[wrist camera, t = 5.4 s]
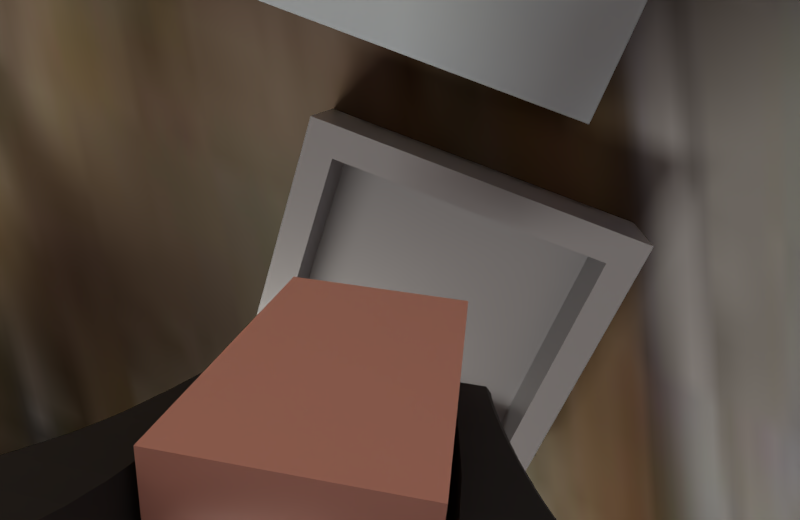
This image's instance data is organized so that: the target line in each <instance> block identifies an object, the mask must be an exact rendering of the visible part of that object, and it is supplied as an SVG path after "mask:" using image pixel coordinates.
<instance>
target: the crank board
mask: <svg viewBox="0 0 800 520" xmlns="http://www.w3.org/2000/svg"><path fill="white" fill-rule="evenodd" d="M259 1H262V2H264V3H267V4H270V5H272V6H275V7H278V8H280V9H283V10H286V11H288V12H291V13H294V14H296V15H299V16H302V17H304V18H307V19H310V20H312V21H315V22H318V23H320V24H323V25H326V26H328V27H331V28H334V29H336V30H339V31H342V32H344V33H347V34H350V35H352V36H355V37H358V38H360V39H363V40H366V41H368V42H371V43H374V44H376V45H379V46H382V47H384V48H387V49H389V50H392V51H395V52H397V53H400V54H403V55H405V56H408V57H411V58H413V59H416V60H419V61H421V62H424V63H427V64H429V65H432V66H435V67H437V68H440V69H443V70H445V71H448V72H451V73H453V74H456V75H459V76H461V77H464V78H467V79H469V80H472V81H475V82H477V83H480V84H483V85H485V86H488V87H491V88H493V89H496V90H499V91H501V92H504V93H507V94H509V95H512V96H515V97H517V98H520V99H523V100H525V101H528V102H531V103H533V104H536V105H539V106H541V107H544V108H547V109H549V110H552V111H555V112H557V113H560V114H563V115H565V116H568V117H571V118H573V119H576V120H579V121H581V122H584V123H587V124H589V123H590V121H591V119H592V117H593V115H594V113H595V111H596V108H597V106H598V104H599V102H600V100H601V98H602V96H603V94H604V92H605V89H606V87H607V85H608V83H609V81H610V79H611V77H612V75H613V73H614V70H615V68H616V66H617V64H618V62H619V60H620V58H621V56H622V54H623V51H624V49H625V47H626V45H627V43H628V41H629V39H630V37H631V35H632V32H633V30H634V28H635V26H636V24H637V22H638V20H639V18H640V16H641V13H642V11H643V9H644V7H645V5H646V3H647V1H648V0H259Z"/></svg>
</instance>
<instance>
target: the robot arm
mask: <svg viewBox="0 0 800 520" xmlns="http://www.w3.org/2000/svg"><path fill="white" fill-rule="evenodd" d="M202 373H203V372H202ZM202 373H200V374H198V375H196V376H195V377H193V378H191V379H189V380H187V381H185V382H183V383H181V384H180V385H178V386H176V387H174V388H172V389H170V390H168V391H166V392H164V393H162V394H160V395H158V396H155V397H153V398H151V399H149V400H147V401H145V402H143V403H141V404H139V405H137V406H135V407H133V408H131V409H129V410H126V411H124V412H122V413H119V414H117V415H115V416H112V417H110V418H108V419H105V420H103V421H100V422H98V423H95V424H93V425H90V426H87V427H85V428H82V429H80V430H77V431H74V432H72V433H69V434H66V435H63V436H60V437H57V438H54V439H51V440H47V441H44V442H41V443H38V444H35V445H32V446H29V447H26V448H23V449H19V450H16V451H13V452H10V453H6V454H3V455H0V520H141V514H140V504H139V494H138V485H137V475H136V465H135V456H134V444H135V443H136V442H137V441H138V440H139V439H140V438H141V437H142V436H143V435H144V434H145V433H146V432H147V431H148V430H149V429H150V428H151V427H152V426H153V424H154V423H155V422H156V421H157V420H158V419H159V418H160V417H161V416H162V415H163V414H164V413H165V412H166V411H167V410H168V409H169V408H170V407H171V405H172V404H173V403H174V402H175V401H176V400H177V399H178V398H179V397H180V396H181V395H182V394H183V393H184V392H185V391H186V390H187V389H188V388H189V387H190V385H191V384H192V383H193V382H194V381H195V380H196V379H197V378H198V377H199V376H200V375H201V374H202ZM446 520H556V518H555V517H554V516H553V514H552V513H551V511H550V510H549V509H548V507H547V506H546V504H545V503H544V501H543V500H542V498H541V496H540V495H539V493H538V492H537V490H536V489H535V487H534V485H533V484H532V482H531V480H530V478H529V477H528V475H527V473H526V472H525V470H524V468H523V466H522V464H521V463H520V461H519V459H518V457H517V455H516V453H515V451H514V449H513V447H512V445H511V443H510V441H509V439H508V437H507V435H506V433H505V431H504V428H503V426H502V424H501V421H500V419H499V417H498V414H497V411H496V409H495V406H494V403H493V400H492V397H491V392H490V391H489V390H488V388H487V387H486V386H480V385H474V384H467V383H461V382H460V388H459V398H458V408H457V418H456V428H455V438H454V448H453V458H452V468H451V478H450V488H449V498H448V507H447V513H446Z"/></svg>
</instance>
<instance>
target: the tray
mask: <svg viewBox="0 0 800 520" xmlns="http://www.w3.org/2000/svg"><path fill="white" fill-rule="evenodd" d="M653 247H654V246H653V245H652V244H651V243H650V241H649V240H648V239H647V238H646V237H645V236H644V234H643V233H642V232H641V231H640V230H639V228H638V227H637V226H636V225H635V224H634V223H633V222H630V221H628V220H625V219H622V218H620V217H617V216H614V215H612V214H609V213H607V212H604V211H601V210H599V209H596V208H593V207H591V206H588V205H585V204H583V203H580V202H578V201H575V200H572V199H570V198H567V197H564V196H562V195H559V194H556V193H554V192H551V191H549V190H546V189H543V188H541V187H538V186H535V185H533V184H530V183H527V182H525V181H522V180H520V179H517V178H514V177H512V176H509V175H506V174H504V173H501V172H498V171H496V170H493V169H491V168H488V167H485V166H483V165H480V164H477V163H475V162H472V161H470V160H467V159H464V158H462V157H459V156H456V155H454V154H451V153H448V152H446V151H443V150H441V149H438V148H435V147H433V146H430V145H427V144H425V143H422V142H419V141H417V140H414V139H412V138H409V137H406V136H404V135H401V134H398V133H396V132H393V131H390V130H388V129H385V128H383V127H380V126H377V125H375V124H372V123H369V122H367V121H364V120H362V119H359V118H356V117H354V116H351V115H348V114H346V113H343V112H340V111H338V110H335V109H331V110H328V111H325V112H322V113H318V114H315V115H312V116H311V117H310V120H309V124H308V128H307V131H306V135H305V139H304V142H303V146H302V150H301V153H300V157H299V161H298V165H297V168H296V172H295V176H294V179H293V183H292V187H291V190H290V194H289V198H288V201H287V205H286V209H285V213H284V216H283V220H282V224H281V227H280V231H279V235H278V238H277V242H276V246H275V249H274V253H273V257H272V261H271V264H270V268H269V272H268V275H267V279H266V283H265V286H264V290H263V294H262V297H261V301H260V305H259V308H258V312H257V315H258V314H259V313H260V312H261V311H262V310H263V309H264V307H265V306H266V305H267V304H268V303H269V302H270V301H271V300H272V299H273V298H274V297H275V296H276V295H277V294H278V293H279V292H280V291H281V290H282V289H283V287H284V286H285V285H286V284H287V283H288V282H289V281H290V280H291V279H292V278H293V277H300V278H307V279H314V280H322V281H329V282H336V283H343V284H350V285H357V286H364V287H371V288H379V289H386V290H393V291H400V292H407V293H414V294H421V295H428V296H436V297H443V298H450V299H457V300H464V301H468V309H467V319H466V329H465V339H464V349H463V359H462V369H461V379H460V382H461V383H467V384H474V385H480V386H486V387H487V388H488V390H489V391H490V392H491V397H492V400H493V403H494V406H495V409H496V411H497V414H498V417H499V419H500V421H501V424H502V426H503V428H504V431H505V433H506V435H507V437H508V439H509V441H510V443H511V445H512V447H513V449H514V451H515V453H516V455H517V457H518V459H519V461H520V463H521V464H522V466H523V468H524V470H525V471H526V469H527V468H528V466H529V464H530V462H531V461H532V459H533V457H534V455H535V454H536V452H537V450H538V448H539V447H540V445H541V443H542V441H543V440H544V438H545V436H546V434H547V433H548V431H549V429H550V427H551V426H552V424H553V422H554V420H555V419H556V417H557V415H558V413H559V412H560V410H561V408H562V406H563V405H564V403H565V401H566V399H567V398H568V396H569V394H570V392H571V391H572V389H573V387H574V385H575V384H576V382H577V380H578V378H579V377H580V375H581V373H582V371H583V370H584V368H585V366H586V364H587V363H588V361H589V359H590V357H591V356H592V354H593V352H594V350H595V349H596V347H597V345H598V343H599V342H600V340H601V338H602V336H603V335H604V333H605V331H606V329H607V328H608V326H609V324H610V322H611V321H612V319H613V317H614V315H615V314H616V312H617V310H618V308H619V307H620V305H621V303H622V301H623V300H624V298H625V296H626V294H627V293H628V291H629V289H630V287H631V285H632V284H633V282H634V280H635V278H636V277H637V275H638V273H639V271H640V270H641V268H642V266H643V264H644V263H645V261H646V259H647V257H648V256H649V254H650V252H651V250H652V249H653Z"/></svg>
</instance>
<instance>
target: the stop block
mask: <svg viewBox="0 0 800 520" xmlns="http://www.w3.org/2000/svg"><path fill="white" fill-rule="evenodd" d="M467 309H468V301H464V300H457V299H450V298H443V297H436V296H428V295H421V294H414V293H407V292H400V291H393V290H386V289H379V288H371V287H364V286H357V285H350V284H343V283H336V282H329V281H322V280H314V279H307V278H300V277H293V278H292V279H291V280H290V281H289V282H288V283H287V284H286V285H285V286H284V287H283V289H282V290H281V291H280V292H279V293H278V294H277V295H276V296H275V297H274V298H273V299H272V300H271V301H270V302H269V303H268V304H267V305H266V306H265V307H264V309H263V310H262V311H261V312H260V313H259V314H258V315H257V316H256V317H255V318H254V319H253V320H252V321H251V322H250V323H249V324H248V325H247V326H246V328H245V329H244V330H243V331H242V332H241V333H240V334H239V335H238V336H237V337H236V338H235V339H234V340H233V341H232V342H231V343H230V344H229V345H228V346H227V348H226V349H225V350H224V351H223V352H222V353H221V354H220V355H219V356H218V357H217V358H216V359H215V360H214V361H213V362H212V363H211V364H210V365H209V367H208V368H207V369H206V370H205V371H204V372H203V373H202V374H201V375H200V376H199V377H198V378H197V379H196V380H195V381H194V382H193V383H192V384H191V385H190V387H189V388H188V389H187V390H186V391H185V392H184V393H183V394H182V395H181V396H180V397H179V398H178V399H177V400H176V401H175V402H174V403H173V404H172V405H171V407H170V408H169V409H168V410H167V411H166V412H165V413H164V414H163V415H162V416H161V417H160V418H159V419H158V420H157V421H156V422H155V423H154V424H153V426H152V427H151V428H150V429H149V430H148V431H147V432H146V433H145V434H144V435H143V436H142V437H141V438H140V439H139V440H138V441H137V442H136V443H135V444H134V456H135V465H136V475H137V485H138V494H139V504H140V514H141V520H446V513H447V507H448V498H449V488H450V478H451V468H452V458H453V448H454V438H455V428H456V418H457V408H458V398H459V388H460V379H461V369H462V359H463V349H464V339H465V329H466V319H467Z"/></svg>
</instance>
